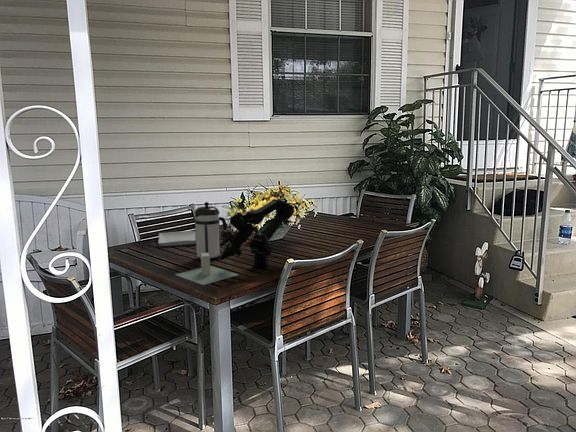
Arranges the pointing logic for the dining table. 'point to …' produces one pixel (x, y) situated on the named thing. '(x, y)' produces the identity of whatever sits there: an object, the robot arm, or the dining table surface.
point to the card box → (205, 264)
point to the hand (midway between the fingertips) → (220, 259)
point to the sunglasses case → (246, 243)
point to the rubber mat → (206, 279)
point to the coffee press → (208, 231)
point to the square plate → (177, 238)
